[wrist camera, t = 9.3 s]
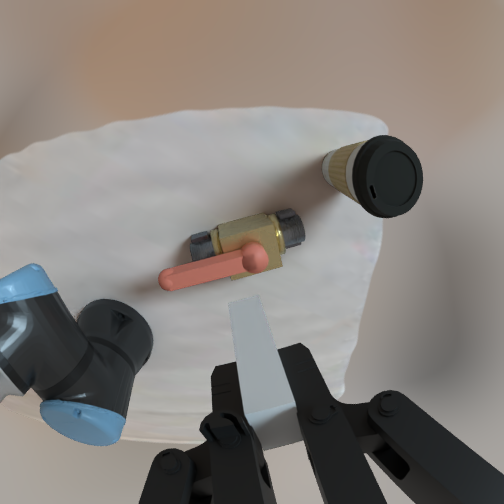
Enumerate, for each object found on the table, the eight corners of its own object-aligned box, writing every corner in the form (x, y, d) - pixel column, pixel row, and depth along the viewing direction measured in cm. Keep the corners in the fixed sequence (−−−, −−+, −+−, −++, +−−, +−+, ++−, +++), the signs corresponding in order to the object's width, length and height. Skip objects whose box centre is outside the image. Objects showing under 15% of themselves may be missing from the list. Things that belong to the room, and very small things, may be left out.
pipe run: (201, 267, 43) (199, 289, 36) (189, 232, 41) (185, 248, 34) (297, 240, 44) (313, 257, 37) (290, 204, 41) (306, 215, 34)
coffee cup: (373, 183, 41) (433, 200, 28) (325, 209, 42) (376, 236, 28) (352, 129, 38) (412, 124, 24) (300, 152, 38) (347, 153, 24)
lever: (261, 238, 34) (265, 245, 32) (266, 261, 36) (271, 270, 33) (156, 266, 34) (152, 275, 31) (164, 288, 35) (161, 298, 32)
